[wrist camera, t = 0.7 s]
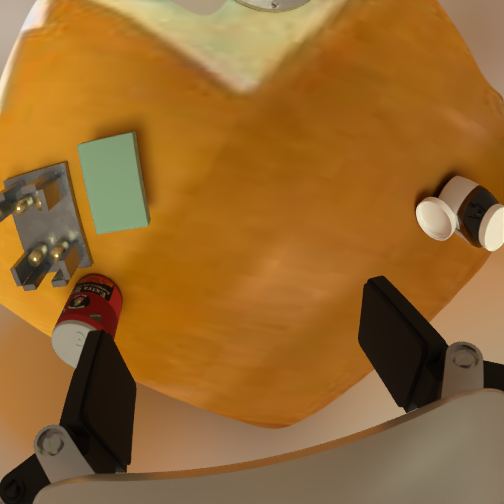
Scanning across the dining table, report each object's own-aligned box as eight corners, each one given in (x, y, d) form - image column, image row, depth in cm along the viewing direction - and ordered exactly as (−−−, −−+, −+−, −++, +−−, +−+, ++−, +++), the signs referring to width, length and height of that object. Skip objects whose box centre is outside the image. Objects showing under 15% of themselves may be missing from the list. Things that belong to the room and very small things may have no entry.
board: (83, 142, 28) (77, 145, 27) (135, 130, 29) (132, 132, 27) (101, 227, 33) (97, 234, 31) (150, 219, 34) (148, 226, 32)
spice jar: (472, 202, 45) (518, 229, 35) (435, 249, 48) (478, 284, 38) (445, 155, 40) (499, 178, 30) (403, 208, 43) (453, 242, 33)
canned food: (117, 271, 40) (98, 323, 30) (128, 317, 43) (117, 372, 34) (68, 274, 39) (41, 323, 29) (82, 318, 42) (64, 371, 33)
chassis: (7, 179, 31) (-19, 194, 25) (67, 161, 32) (45, 174, 26) (35, 271, 37) (18, 296, 32) (93, 262, 39) (79, 289, 33)
